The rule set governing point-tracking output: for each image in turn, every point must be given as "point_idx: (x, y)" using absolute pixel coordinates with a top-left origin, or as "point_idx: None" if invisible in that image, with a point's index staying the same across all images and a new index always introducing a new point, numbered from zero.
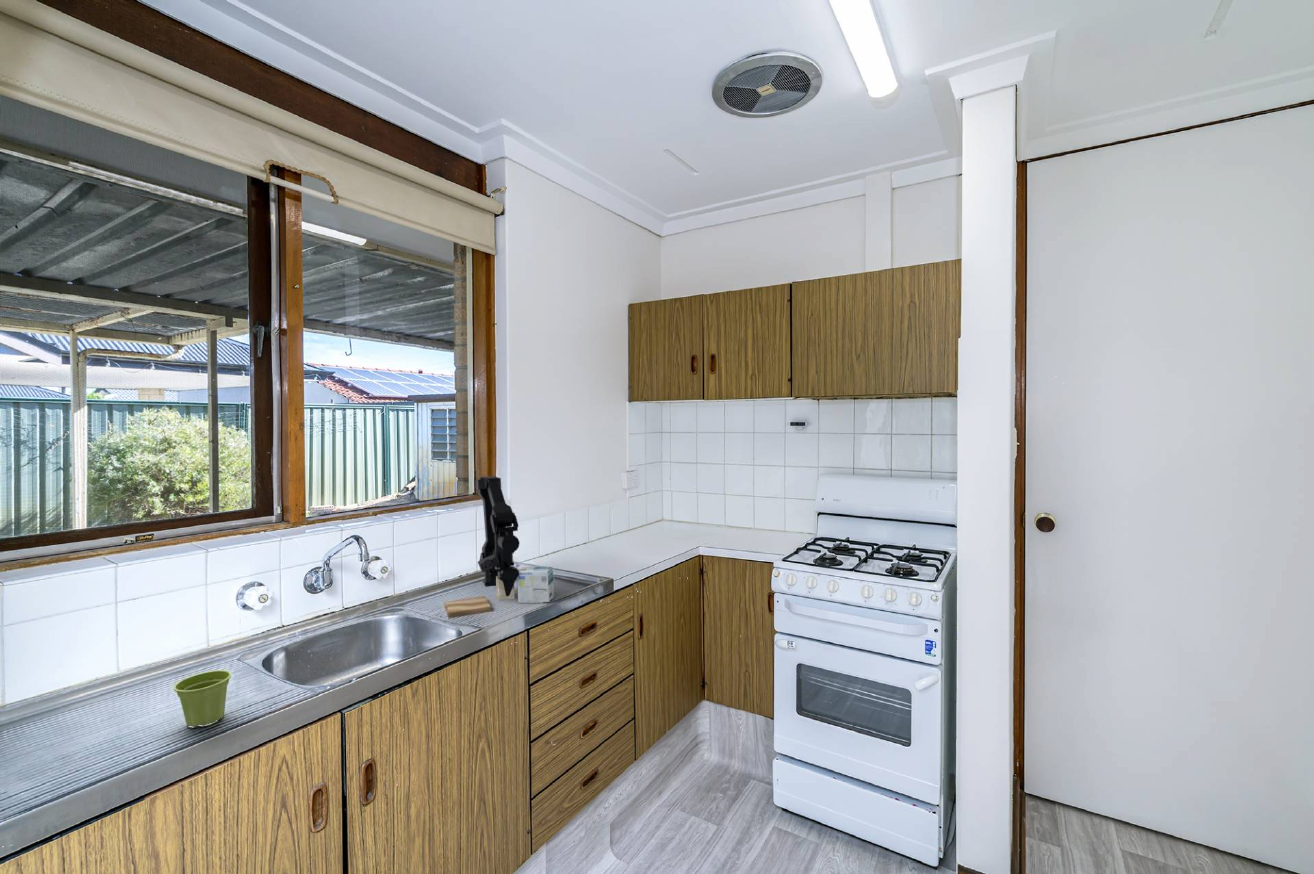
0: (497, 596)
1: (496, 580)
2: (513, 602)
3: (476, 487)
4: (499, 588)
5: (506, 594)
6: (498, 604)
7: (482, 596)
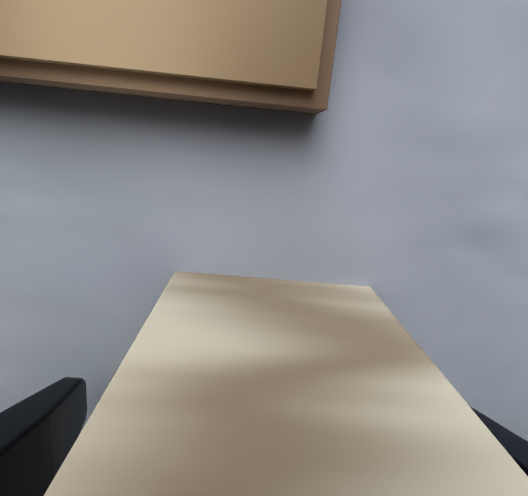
0: (317, 289)
1: (493, 483)
2: (12, 392)
3: None
4: (116, 379)
5: (45, 399)
6: (6, 220)
7: (319, 47)
